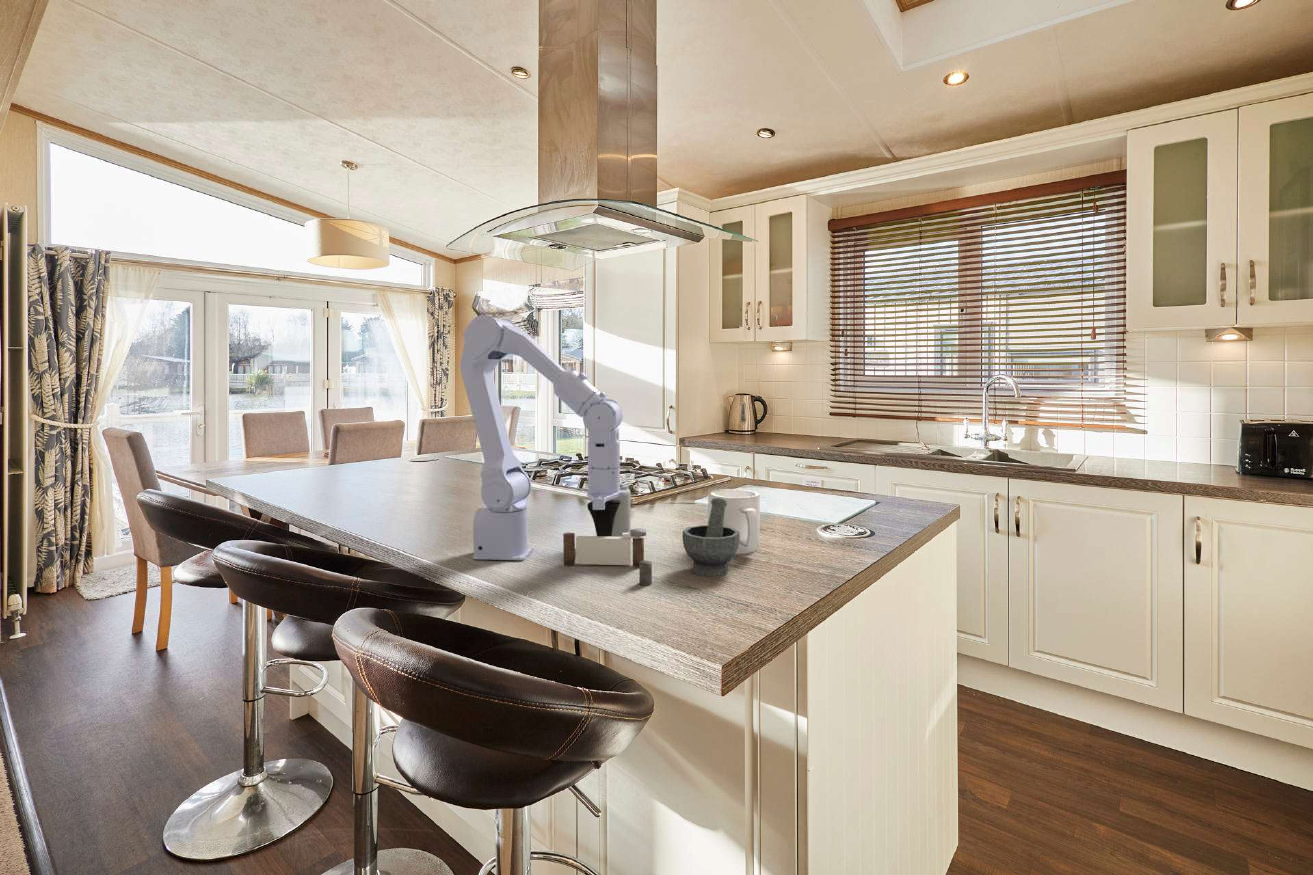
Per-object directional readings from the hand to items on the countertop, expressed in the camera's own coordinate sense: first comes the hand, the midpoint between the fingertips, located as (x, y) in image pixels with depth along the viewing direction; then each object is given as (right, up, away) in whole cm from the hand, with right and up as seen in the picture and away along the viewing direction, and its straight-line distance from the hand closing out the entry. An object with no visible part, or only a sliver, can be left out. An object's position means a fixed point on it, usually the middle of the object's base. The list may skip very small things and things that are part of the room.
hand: (604, 540), depth 116 cm
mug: (+25, -3, +9) cm, 27 cm away
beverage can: (+1, -3, +12) cm, 12 cm away
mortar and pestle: (+19, -4, -4) cm, 20 cm away
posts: (+1, -4, -7) cm, 8 cm away
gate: (+1, -4, -3) cm, 5 cm away
